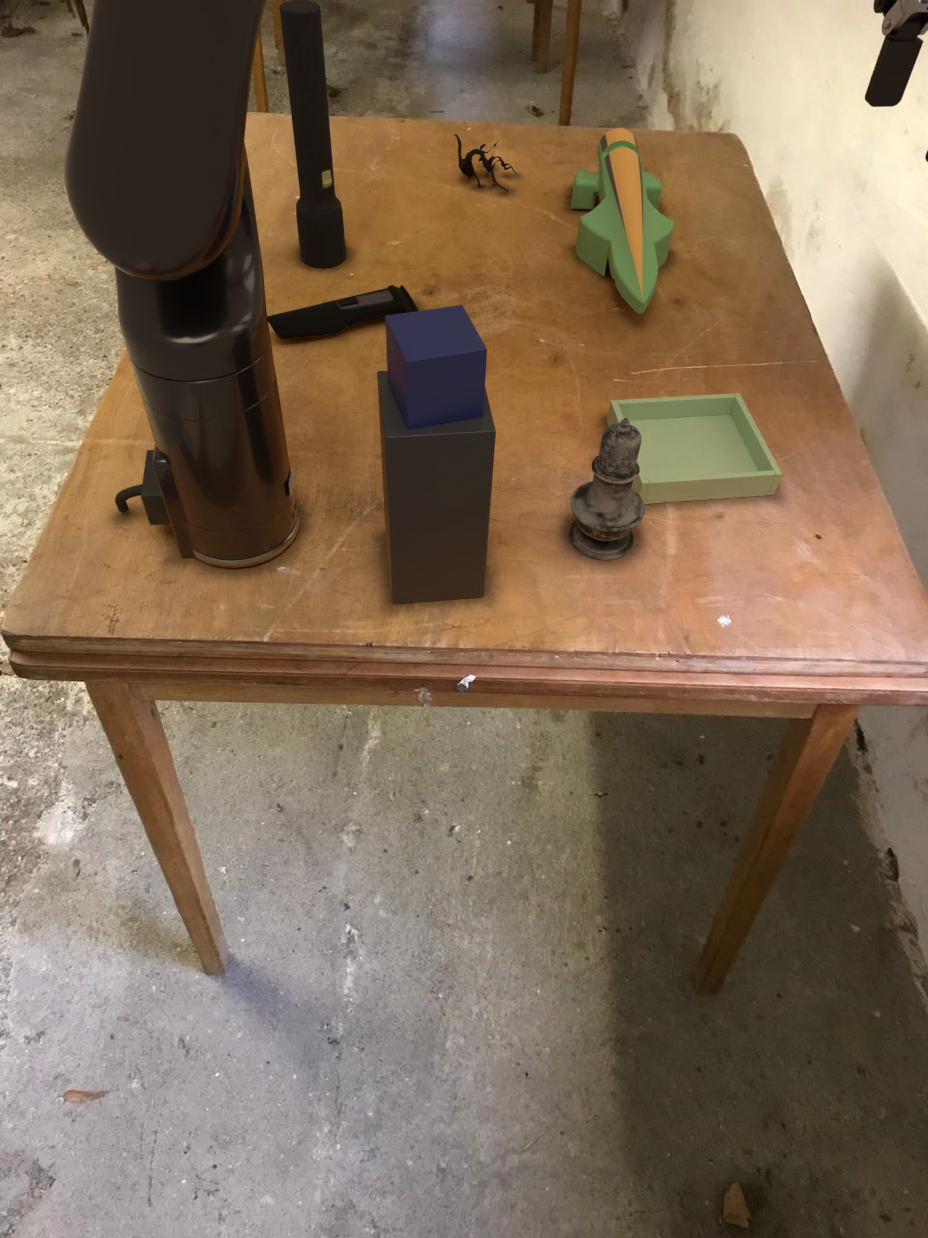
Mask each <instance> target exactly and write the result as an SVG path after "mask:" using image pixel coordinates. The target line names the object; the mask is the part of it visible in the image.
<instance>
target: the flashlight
mask: <svg viewBox="0 0 928 1238" xmlns="http://www.w3.org/2000/svg"><path fill="white" fill-rule="evenodd" d="M321 12H322V11H321V5H320V4H319V3H317V2H316V1H313V0H286V1H284V2H283V3H281V4H280V5H279V17H280V25H281V33H282V42H283V43H282V44H283V51H284V61H285V71H286V80H287V90H288V98H289V106H290V116H291V125H292V133H293V134H292V135H293V144H294V151H295V162H296V170H297V178H298V179H297V180H298V187H299V198H298V200H297V201H296V204H295V216H296V217H295V218H296V225H297V236H298V244H299V253H300V259H301V261H302V262H303V263H304V264H305V265H307V266H309V267H311V268H318V269H329V268H333V267H336V266H339V265H341V264H342V263H344V262H345V260H346V258H347V251H346V249H347V248H346V237H345V223H344V214H343V213H344V211H343V207H342V202H341V201H340V199H339V198H338V197H337V195H336V187H335V175H334V164H333V150H332V136H331V126H330V112H329V100H328V87H327V75H326V62H325V61H326V60H325V49H324V37H323V27H322V26H323V24H322V13H321Z"/></svg>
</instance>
